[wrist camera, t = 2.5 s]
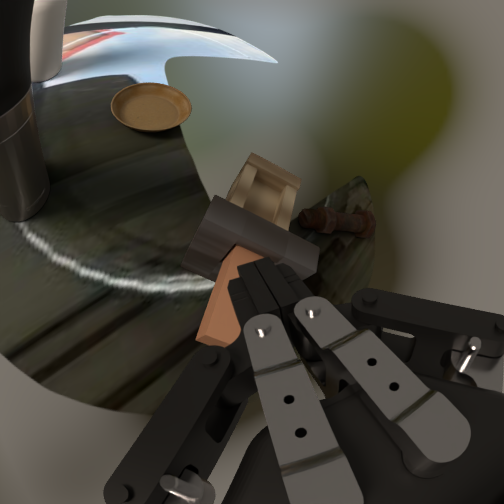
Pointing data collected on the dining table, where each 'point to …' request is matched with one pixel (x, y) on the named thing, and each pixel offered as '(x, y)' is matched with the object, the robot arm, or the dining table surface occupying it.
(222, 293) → the peg
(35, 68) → the alcohol
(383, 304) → the robot arm
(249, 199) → the frame
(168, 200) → the dining table surface
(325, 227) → the bolt
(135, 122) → the plant saucer
